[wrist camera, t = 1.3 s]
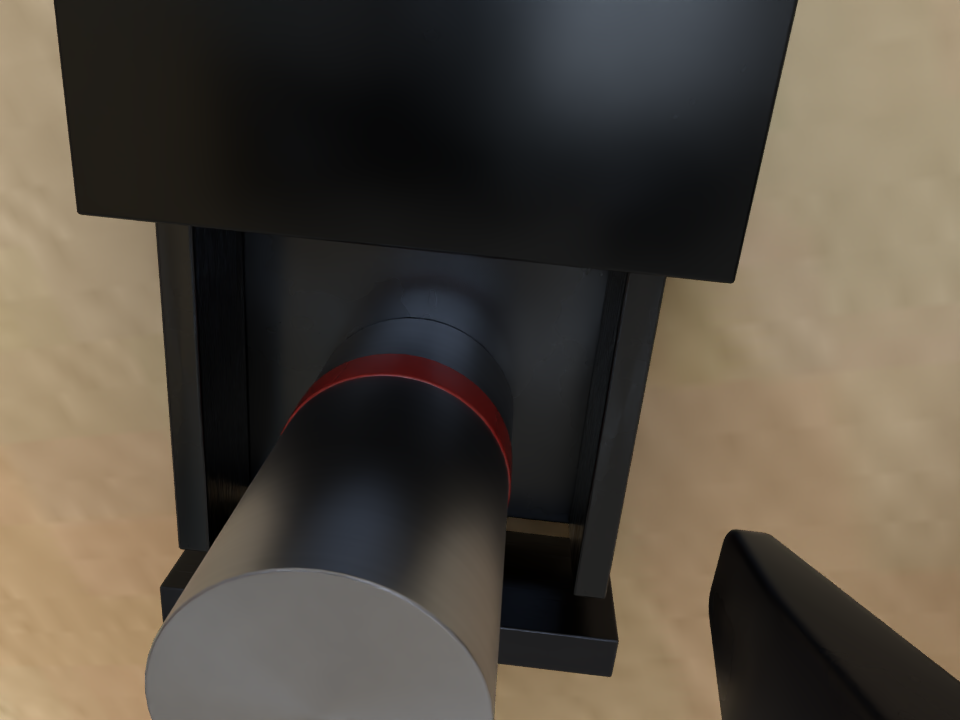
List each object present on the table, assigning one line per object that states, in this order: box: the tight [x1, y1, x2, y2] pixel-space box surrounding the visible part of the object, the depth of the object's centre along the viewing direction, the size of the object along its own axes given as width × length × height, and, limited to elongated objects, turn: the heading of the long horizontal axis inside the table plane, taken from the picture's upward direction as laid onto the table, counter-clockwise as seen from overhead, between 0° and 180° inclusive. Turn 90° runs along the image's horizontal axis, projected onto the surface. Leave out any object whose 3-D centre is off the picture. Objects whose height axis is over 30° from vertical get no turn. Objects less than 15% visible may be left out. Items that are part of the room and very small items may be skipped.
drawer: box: [155, 223, 666, 677], centre depth 20 cm, size 16×12×4 cm
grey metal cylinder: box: [145, 318, 513, 720], centre depth 16 cm, size 5×5×10 cm
